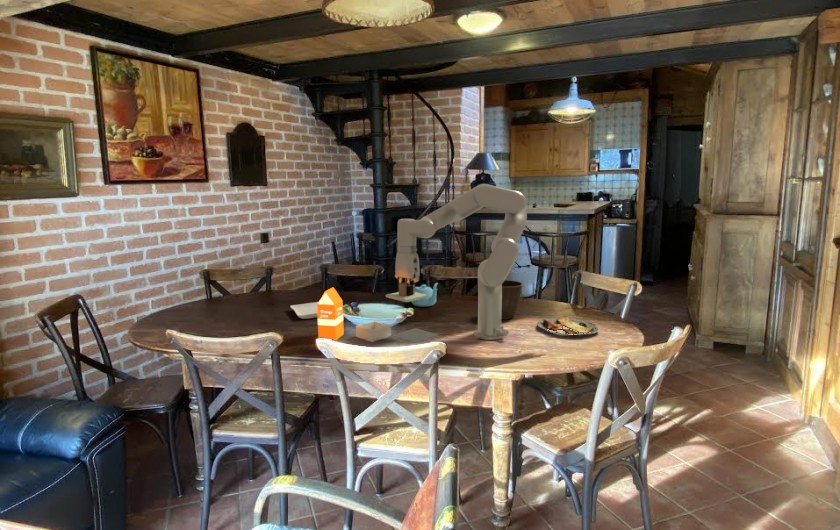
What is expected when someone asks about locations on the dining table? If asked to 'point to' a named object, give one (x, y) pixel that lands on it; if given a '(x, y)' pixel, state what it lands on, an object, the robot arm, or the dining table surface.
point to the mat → (415, 335)
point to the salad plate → (306, 310)
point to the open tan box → (373, 331)
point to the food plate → (567, 325)
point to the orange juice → (330, 315)
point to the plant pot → (510, 298)
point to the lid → (406, 294)
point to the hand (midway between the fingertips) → (406, 294)
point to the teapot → (427, 291)
